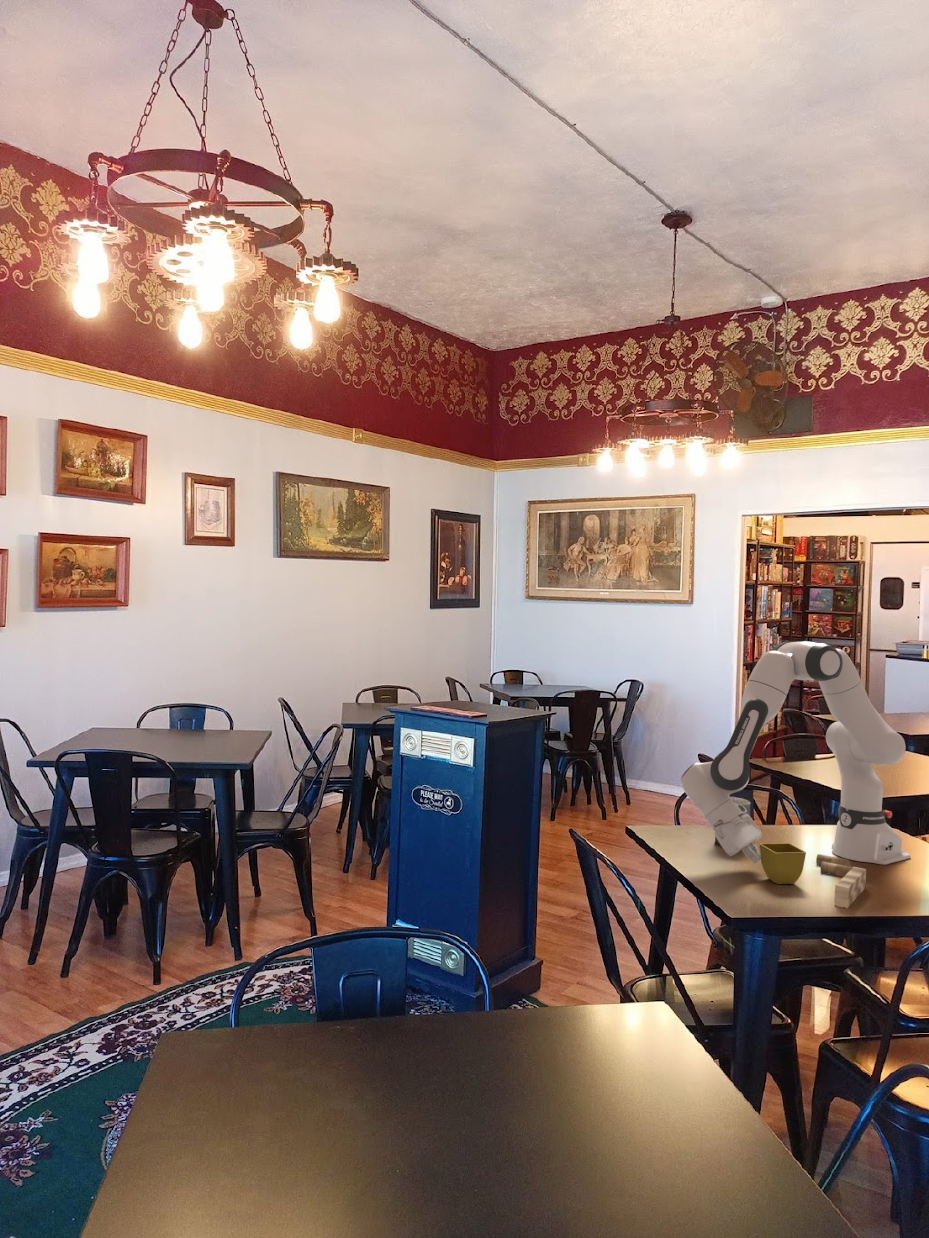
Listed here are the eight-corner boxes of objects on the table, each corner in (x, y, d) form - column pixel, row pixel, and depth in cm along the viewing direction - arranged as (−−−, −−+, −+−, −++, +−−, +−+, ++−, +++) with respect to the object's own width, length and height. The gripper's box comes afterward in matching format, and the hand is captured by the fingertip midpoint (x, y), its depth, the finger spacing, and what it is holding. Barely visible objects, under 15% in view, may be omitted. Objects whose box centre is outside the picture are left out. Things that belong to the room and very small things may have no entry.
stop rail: (852, 885, 232) (853, 866, 231) (865, 888, 230) (866, 869, 230) (834, 905, 215) (835, 885, 215) (847, 908, 214) (848, 887, 213)
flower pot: (773, 887, 228) (775, 852, 227) (757, 876, 236) (758, 842, 236) (805, 886, 229) (806, 852, 229) (787, 875, 238) (789, 842, 237)
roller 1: (819, 861, 252) (816, 866, 249) (818, 851, 251) (816, 857, 249) (849, 867, 247) (846, 872, 245) (848, 857, 246) (846, 863, 244)
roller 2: (823, 860, 244) (823, 871, 244) (820, 862, 242) (820, 873, 242) (854, 866, 239) (853, 877, 240) (852, 868, 237) (851, 879, 237)
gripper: (719, 817, 232) (755, 862, 226) (745, 804, 248) (779, 846, 243) (702, 831, 235) (737, 876, 229) (729, 817, 251) (761, 858, 246)
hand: (758, 860), depth 236 cm, fingers closed, pressing on flower pot
